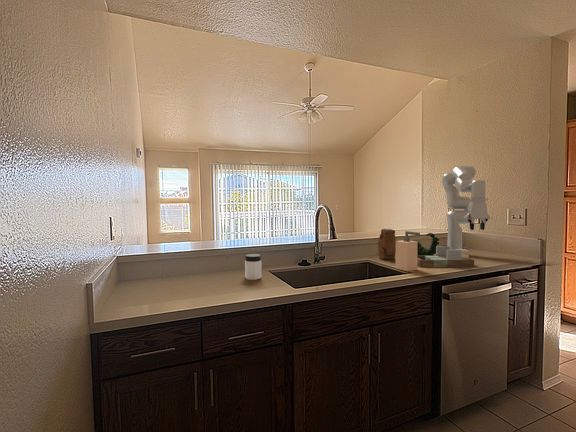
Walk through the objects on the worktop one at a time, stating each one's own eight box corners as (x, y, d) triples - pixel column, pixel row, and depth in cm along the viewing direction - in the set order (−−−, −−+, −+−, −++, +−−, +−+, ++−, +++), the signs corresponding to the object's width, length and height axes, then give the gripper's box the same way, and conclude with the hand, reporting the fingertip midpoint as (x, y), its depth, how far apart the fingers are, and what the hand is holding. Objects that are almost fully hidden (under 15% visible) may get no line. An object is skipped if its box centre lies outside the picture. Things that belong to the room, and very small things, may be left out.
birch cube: (456, 256, 202) (456, 248, 201) (464, 256, 202) (464, 248, 201) (460, 258, 197) (460, 250, 196) (468, 258, 197) (469, 250, 196)
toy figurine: (439, 261, 214) (408, 253, 235) (442, 234, 212) (410, 227, 233) (431, 263, 209) (399, 254, 230) (434, 235, 207) (402, 228, 228)
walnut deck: (410, 261, 207) (410, 255, 207) (460, 261, 207) (460, 255, 207) (419, 266, 192) (419, 260, 192) (474, 266, 192) (474, 259, 192)
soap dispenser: (395, 268, 188) (395, 231, 187) (404, 266, 193) (405, 230, 191) (413, 272, 177) (414, 233, 176) (423, 270, 182) (424, 232, 181)
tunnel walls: (435, 255, 207) (436, 246, 206) (448, 255, 207) (448, 246, 206) (447, 260, 192) (447, 250, 191) (460, 260, 192) (461, 250, 191)
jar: (254, 275, 174) (253, 253, 174) (264, 277, 169) (264, 254, 168) (241, 278, 167) (241, 255, 167) (252, 280, 162) (252, 257, 161)
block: (389, 257, 223) (390, 228, 222) (396, 259, 216) (397, 229, 215) (376, 258, 220) (376, 229, 218) (383, 260, 213) (383, 230, 211)
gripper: (488, 200, 201) (487, 229, 202) (460, 200, 201) (459, 229, 202) (495, 200, 193) (494, 230, 194) (467, 200, 193) (466, 230, 194)
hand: (477, 229), depth 198 cm, fingers open, 5 cm apart
